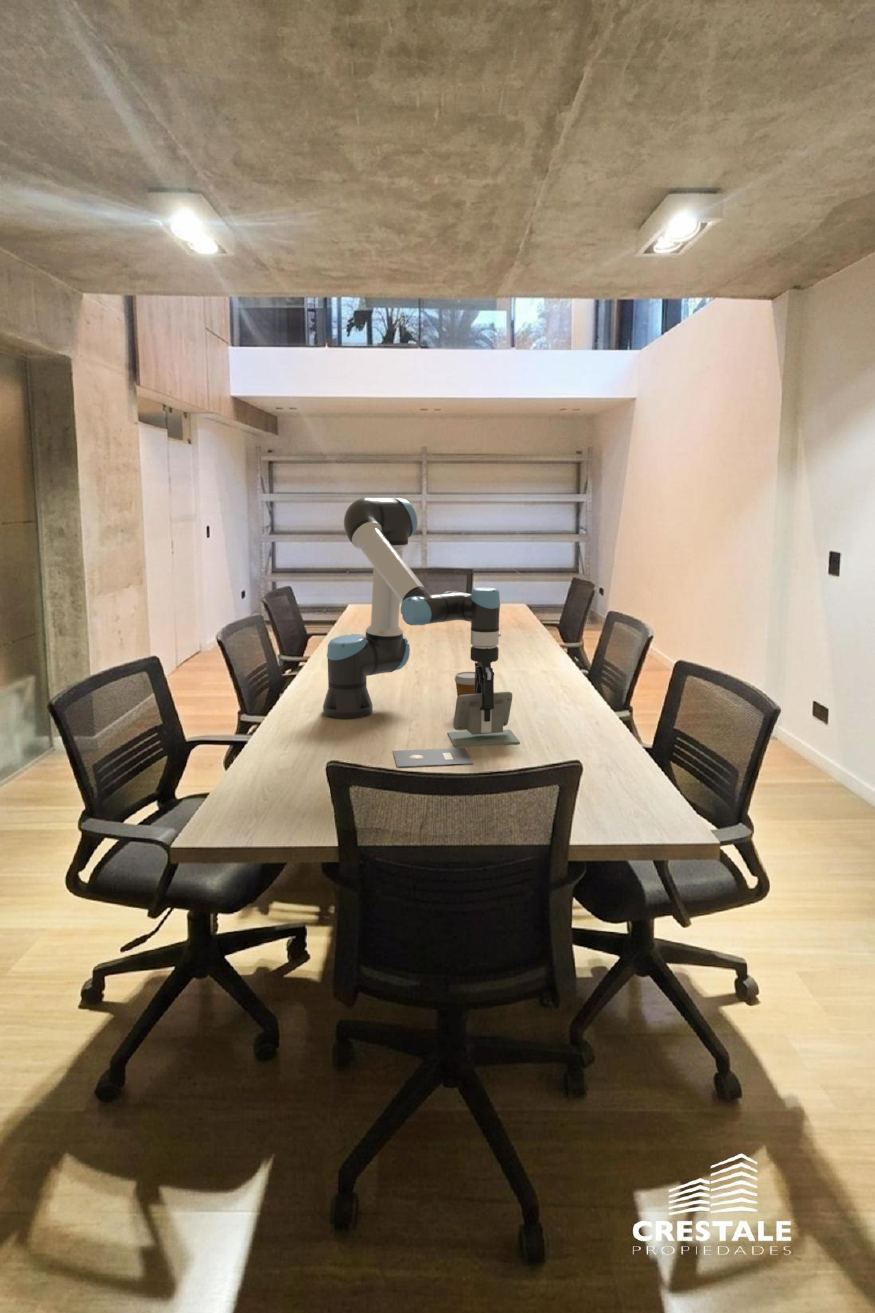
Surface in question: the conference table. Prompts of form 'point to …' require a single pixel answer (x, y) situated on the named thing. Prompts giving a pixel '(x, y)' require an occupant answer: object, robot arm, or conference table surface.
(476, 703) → the digital clock
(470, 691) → the disposable coffee cup
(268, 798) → the conference table surface
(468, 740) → the side mat
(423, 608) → the robot arm
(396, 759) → the gray plate
